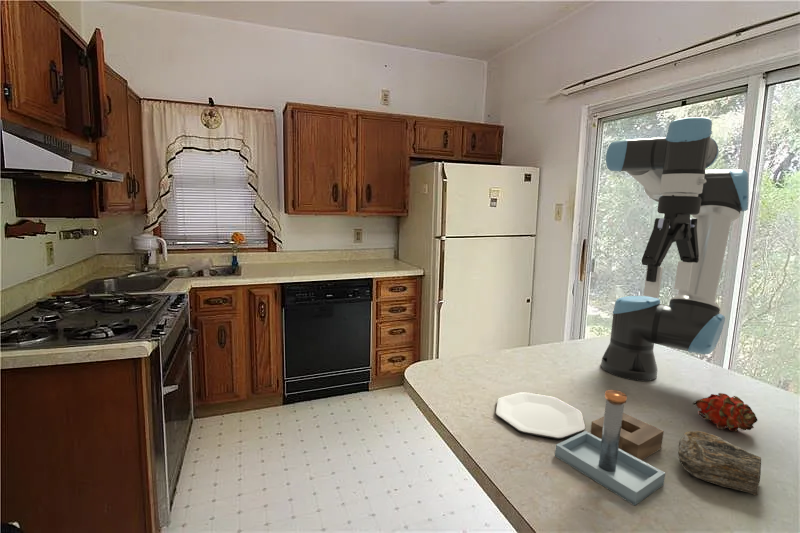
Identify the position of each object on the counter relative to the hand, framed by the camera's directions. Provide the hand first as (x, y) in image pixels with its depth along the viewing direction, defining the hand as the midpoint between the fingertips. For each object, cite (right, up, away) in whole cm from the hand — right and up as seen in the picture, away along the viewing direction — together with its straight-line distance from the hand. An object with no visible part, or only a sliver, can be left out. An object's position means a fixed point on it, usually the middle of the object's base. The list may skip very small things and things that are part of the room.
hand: (666, 293), depth 91 cm
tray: (-19, -33, -11) cm, 40 cm away
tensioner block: (-10, -32, -2) cm, 34 cm away
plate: (-26, -31, +8) cm, 41 cm away
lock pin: (-19, -33, -11) cm, 39 cm away
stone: (+2, -34, -12) cm, 36 cm away
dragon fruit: (+17, -32, +6) cm, 36 cm away
